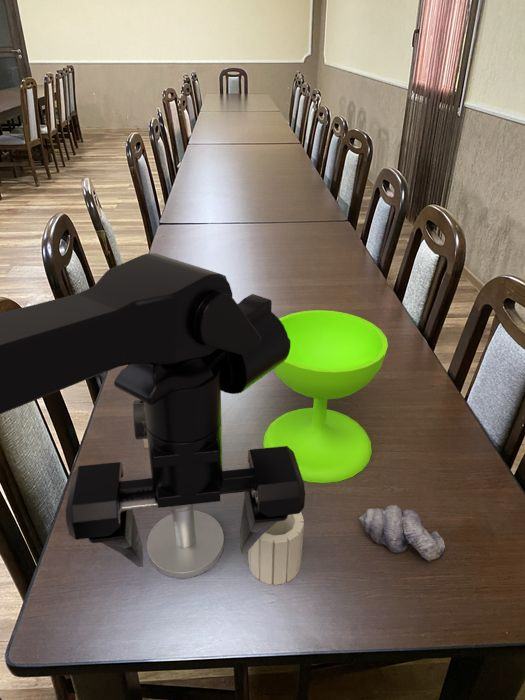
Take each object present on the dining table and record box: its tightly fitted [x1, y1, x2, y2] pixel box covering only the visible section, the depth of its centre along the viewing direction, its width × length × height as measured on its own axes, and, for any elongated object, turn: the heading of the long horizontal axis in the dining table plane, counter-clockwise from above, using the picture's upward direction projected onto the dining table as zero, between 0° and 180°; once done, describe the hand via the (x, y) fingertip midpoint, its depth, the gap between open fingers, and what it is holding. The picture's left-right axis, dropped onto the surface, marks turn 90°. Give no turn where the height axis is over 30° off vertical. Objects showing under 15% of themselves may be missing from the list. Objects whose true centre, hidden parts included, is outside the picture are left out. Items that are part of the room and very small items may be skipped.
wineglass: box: [262, 309, 389, 484], centre depth 75 cm, size 16×16×18 cm
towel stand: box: [146, 504, 225, 579], centre depth 61 cm, size 9×9×9 cm
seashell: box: [359, 504, 446, 562], centre depth 63 cm, size 5×5×10 cm
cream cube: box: [142, 439, 149, 449], centre depth 78 cm, size 2×2×2 cm
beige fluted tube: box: [247, 511, 305, 586], centre depth 60 cm, size 6×6×7 cm
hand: (192, 556), depth 49 cm, fingers open, 9 cm apart
